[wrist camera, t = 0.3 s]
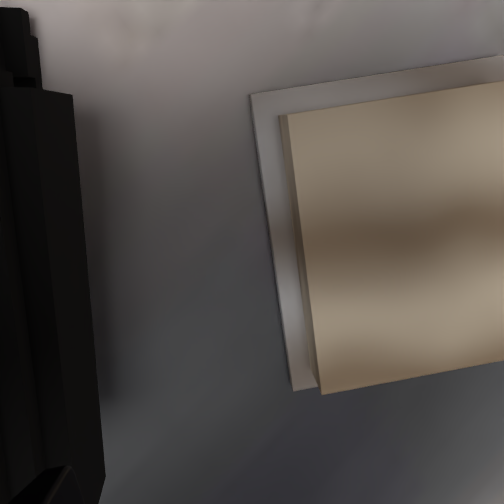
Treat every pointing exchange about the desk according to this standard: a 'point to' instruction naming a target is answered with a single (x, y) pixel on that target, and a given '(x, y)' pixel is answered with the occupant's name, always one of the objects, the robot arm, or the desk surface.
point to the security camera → (42, 281)
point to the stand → (386, 222)
